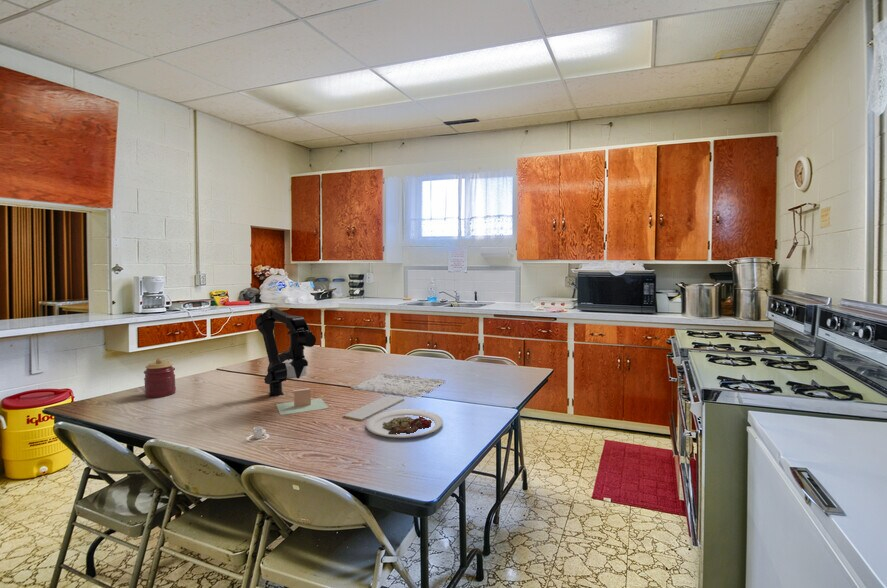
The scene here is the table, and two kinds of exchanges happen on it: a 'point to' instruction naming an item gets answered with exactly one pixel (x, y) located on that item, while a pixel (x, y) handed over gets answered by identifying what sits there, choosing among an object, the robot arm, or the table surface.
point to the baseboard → (373, 408)
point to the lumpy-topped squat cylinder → (291, 370)
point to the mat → (301, 407)
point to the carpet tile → (399, 385)
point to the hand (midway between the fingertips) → (297, 378)
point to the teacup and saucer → (258, 434)
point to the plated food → (402, 423)
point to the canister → (159, 379)
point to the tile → (302, 397)
